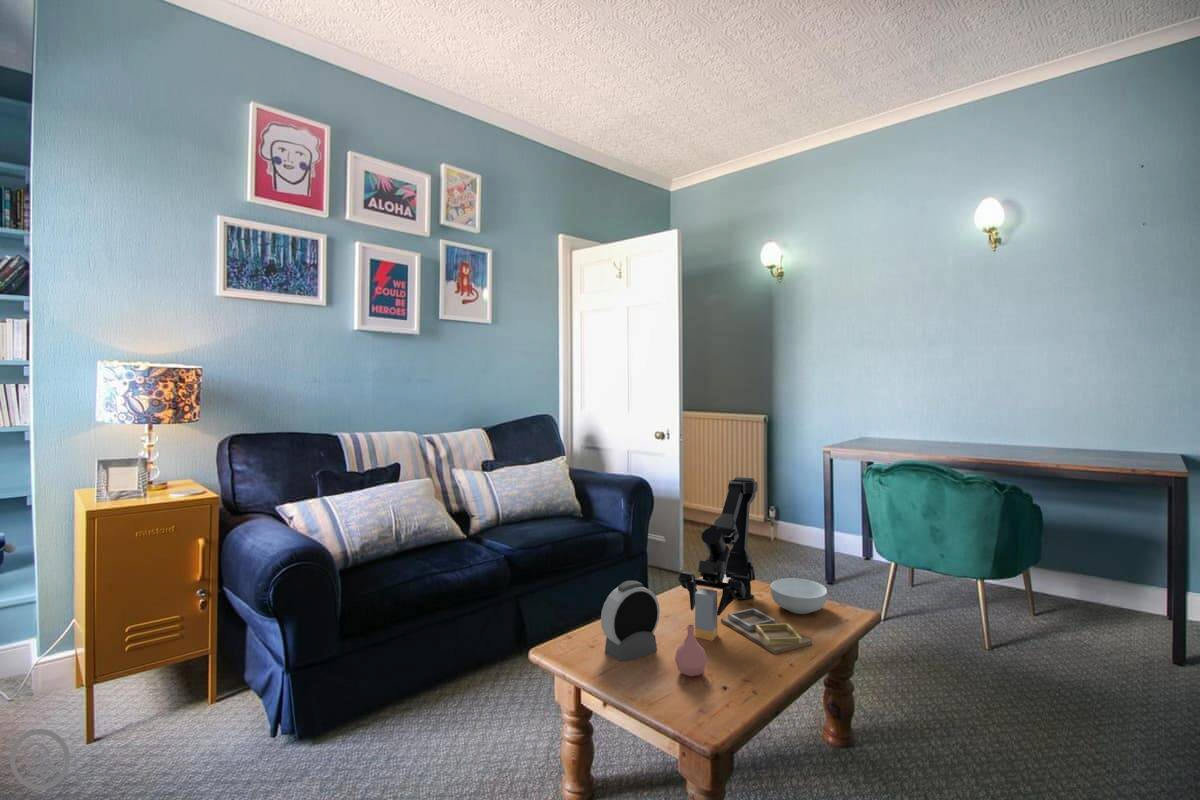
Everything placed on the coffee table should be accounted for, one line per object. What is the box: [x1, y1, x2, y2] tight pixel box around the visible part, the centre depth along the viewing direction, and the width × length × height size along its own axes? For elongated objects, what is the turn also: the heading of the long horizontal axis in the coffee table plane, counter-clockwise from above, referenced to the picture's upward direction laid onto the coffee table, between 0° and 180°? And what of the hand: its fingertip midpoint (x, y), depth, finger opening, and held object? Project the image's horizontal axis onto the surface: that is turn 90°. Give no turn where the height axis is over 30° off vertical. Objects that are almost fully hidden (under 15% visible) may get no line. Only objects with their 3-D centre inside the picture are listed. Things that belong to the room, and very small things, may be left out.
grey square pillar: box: [694, 587, 718, 641], centre depth 164 cm, size 4×5×12 cm
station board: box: [720, 607, 813, 655], centre depth 166 cm, size 23×13×2 cm, turn 25°
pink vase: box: [674, 624, 708, 677], centre depth 143 cm, size 8×8×12 cm
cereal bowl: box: [770, 577, 828, 615], centre depth 182 cm, size 17×17×7 cm
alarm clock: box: [600, 580, 661, 662], centre depth 156 cm, size 16×10×18 cm, turn 123°
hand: (704, 612), depth 163 cm, fingers open, 7 cm apart
